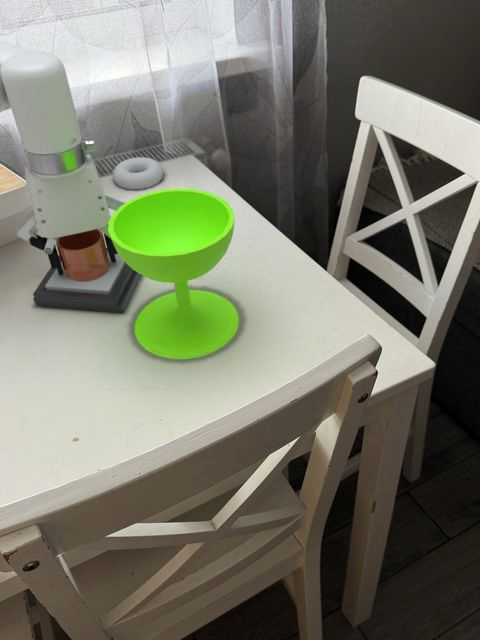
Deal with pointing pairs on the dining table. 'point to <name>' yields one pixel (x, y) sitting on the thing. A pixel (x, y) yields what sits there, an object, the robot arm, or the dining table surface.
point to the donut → (138, 173)
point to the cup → (84, 255)
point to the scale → (89, 295)
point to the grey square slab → (95, 286)
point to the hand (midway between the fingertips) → (86, 263)
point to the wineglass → (178, 268)
